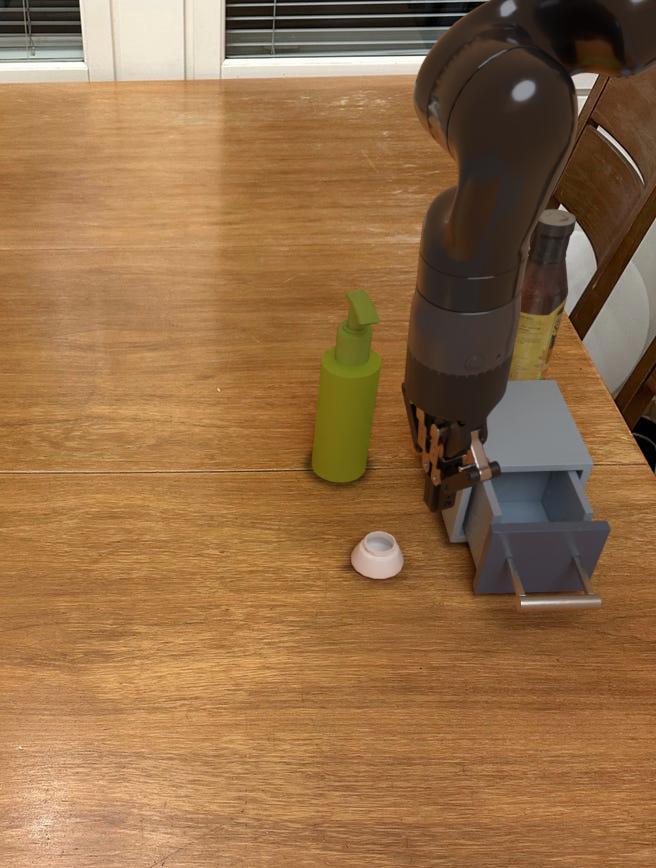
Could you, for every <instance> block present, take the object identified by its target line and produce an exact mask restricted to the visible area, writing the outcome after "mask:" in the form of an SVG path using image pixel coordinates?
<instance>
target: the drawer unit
mask: <svg viewBox="0 0 656 868" xmlns="http://www.w3.org/2000/svg"><path fill="white" fill-rule="evenodd" d="M487 428H488V438H487V441H486V442H485V444H484V445H483V448H484V452H485V455H486V458H489V460H490V462H493V461H497V462H498V463H499V465H500V468H501V472H532V471H567V470H575V471H576V473H577V475H578V477H579V480H580V482H581V484H582V486H583V489H584V491H585V489H586V487H587V485H588V481H589V478H590V476H591V473H592V470H593V467H594V465H595V463H594V460H593V458H592V456H591V454H590V452H589V449H588V447H587V445H586V443H585V440H584V438H583V437H582V435H581V432H580V430H579V428H578V426H577V424H576V421H575V420H574V417H573V415H572V413H571V410H570V409H569V406H568V404H567V401H566V400H565V398H564V396H563V393H562V391H561V389H560V387H559V385H558V382H557V380H556V379H543V380H524V381H508V383H507V388H506V392H505V394H504V396H503V398H502V399H501V401H500V402H499V403H498V404H497V405H496V407H495V408H494V409H493V410H492V411H491V413H490V414H489V415H488V417H487ZM471 489H472V487H469V488H466V489H463V490H460V491H457V493H456V499H455V505H454V506H453V507H452V508H449V509H445V510H442V511H440V512H441V515H442V518H443V522H444V525H445V530H446V532H447V536H448V539H449V543H468V540H467V536H466V533H465V530H464V526H463V520H464V516H465V513H466V509H467V505H468V501H469V497H470V493H471Z"/></svg>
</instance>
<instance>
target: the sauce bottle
mask: <svg viewBox="0 0 656 868" xmlns="http://www.w3.org/2000/svg"><path fill="white" fill-rule="evenodd" d="M576 222H577V218H576V216H575V215H574V214H573V213H572V212H569V211H566V210H564V209H563V210H562V209H558V208H557V209H556V208H550V209H545V210H544V211H543V213H542V215H541V217H540V219H539V221H538V222H537V224H536V226H535V228H534V230H533V235H532V239H531V242H530V247H529V252H528V257H527V262H526V268H525V273H524V278H523V283H522V291H521V313H520V320H519V326H518V331H517V336H516V341H515V346H514V351H513V357H512V362H511V367H510V372H509V378H508V381H524V380H545V378H546V377H547V372H548V369H549V365H550V362H551V358H552V355H553V351H554V347H555V344H556V341H557V340H556V339H557V336H558V333H559V329H560V325H561V322H562V318H563V314H564V310H565V306H566V303H567V299H568V296H569V281H568V271H567V270H568V269H567V252H568V248H569V244H570V239H571V236H572V235H573V233H574V232H575V227H576V224H577V223H576Z"/></svg>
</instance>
